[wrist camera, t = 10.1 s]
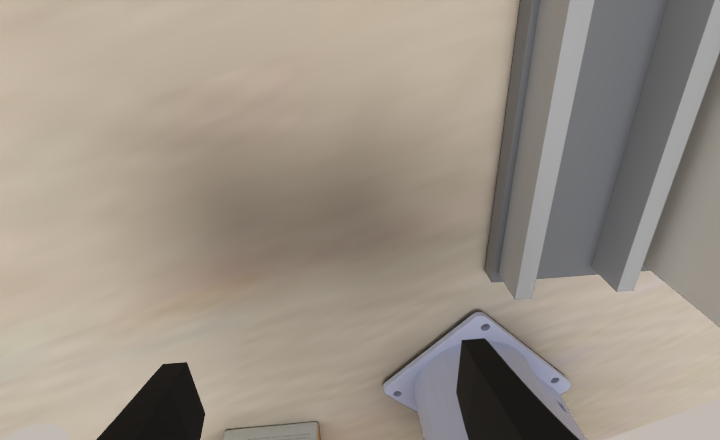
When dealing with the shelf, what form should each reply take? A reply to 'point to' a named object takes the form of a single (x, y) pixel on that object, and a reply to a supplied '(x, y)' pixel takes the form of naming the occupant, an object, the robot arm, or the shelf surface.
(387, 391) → the robot arm
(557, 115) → the ridged grey tray
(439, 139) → the shelf surface
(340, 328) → the shelf surface
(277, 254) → the shelf surface
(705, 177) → the long beige block
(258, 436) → the small box
